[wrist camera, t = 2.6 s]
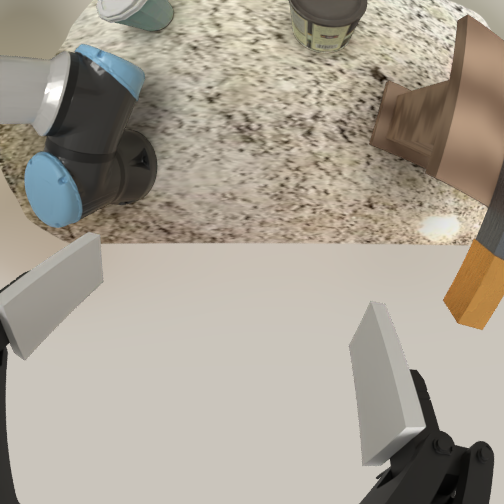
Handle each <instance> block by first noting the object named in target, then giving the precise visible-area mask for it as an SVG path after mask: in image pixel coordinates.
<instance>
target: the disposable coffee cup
mask: <svg viewBox="0 0 504 504" xmlns="http://www.w3.org/2000/svg"><path fill="white" fill-rule="evenodd" d="M96 8H97V11H98V15H99V17H100V18H101V19H103V20H106V21H108V22H110V23H112V22H115V23H119V24H124V25H128V26H132V27H136V28H140V29H144V30H148V31H155V30H161V29H162V28H164V27H166V26H167V25H168V24H169V23H170V21H171V20H172V18H173V14H174V13H173V9H172V7H171V5H170V3H169V2H168V1H167V0H98V3H97V6H96Z"/></svg>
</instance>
